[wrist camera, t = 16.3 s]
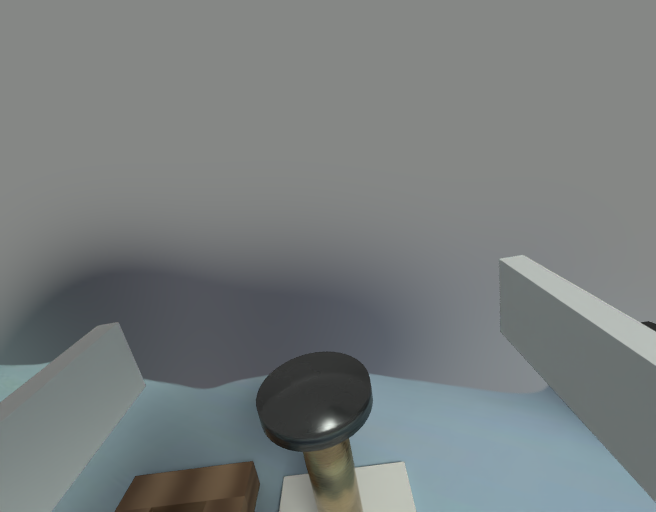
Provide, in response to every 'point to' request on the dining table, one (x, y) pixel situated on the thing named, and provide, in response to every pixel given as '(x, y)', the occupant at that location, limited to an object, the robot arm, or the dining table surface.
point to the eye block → (194, 490)
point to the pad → (374, 486)
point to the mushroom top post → (319, 420)
